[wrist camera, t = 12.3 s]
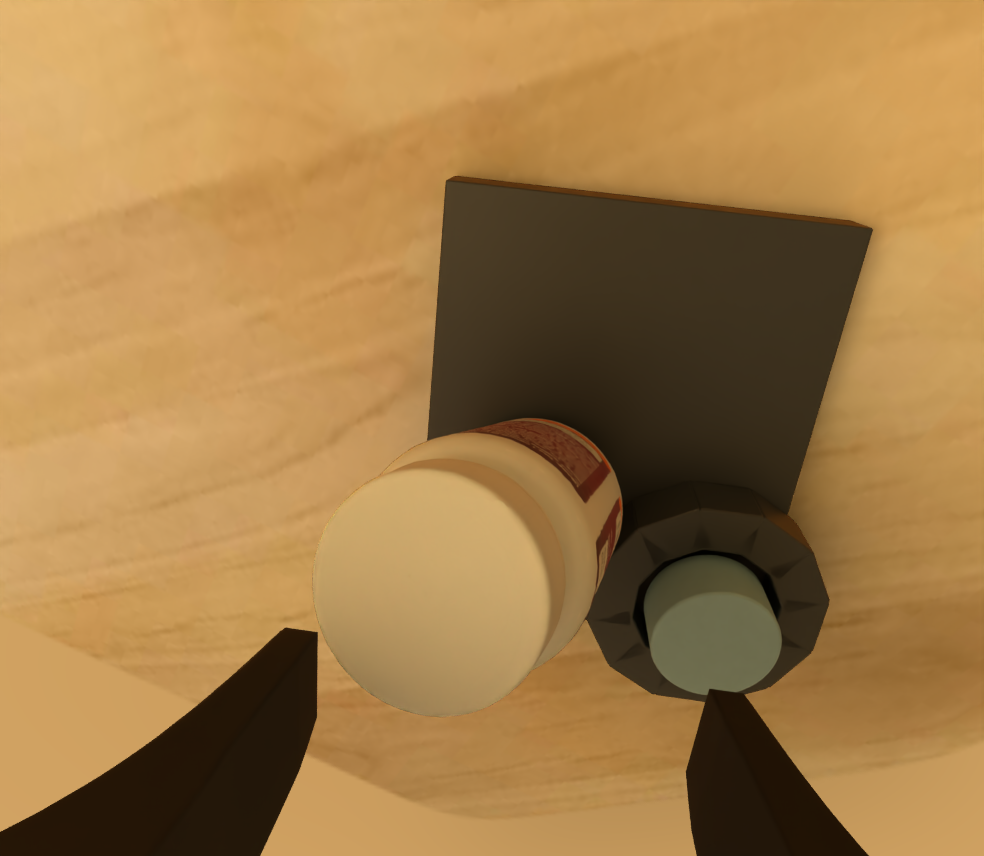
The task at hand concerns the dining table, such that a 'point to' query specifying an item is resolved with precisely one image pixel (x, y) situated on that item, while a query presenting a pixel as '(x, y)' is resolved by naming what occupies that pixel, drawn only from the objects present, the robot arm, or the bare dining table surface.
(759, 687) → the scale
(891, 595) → the dining table surface
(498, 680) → the pill bottle
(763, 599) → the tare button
